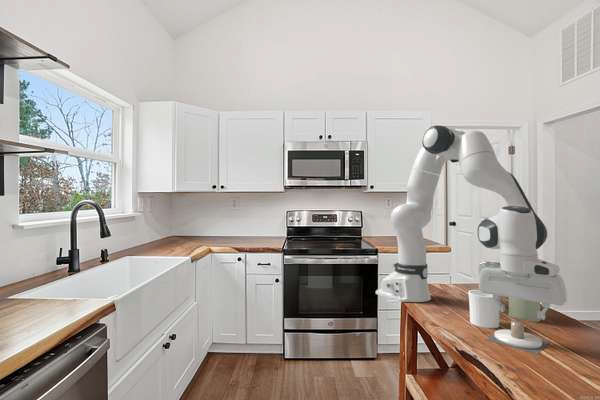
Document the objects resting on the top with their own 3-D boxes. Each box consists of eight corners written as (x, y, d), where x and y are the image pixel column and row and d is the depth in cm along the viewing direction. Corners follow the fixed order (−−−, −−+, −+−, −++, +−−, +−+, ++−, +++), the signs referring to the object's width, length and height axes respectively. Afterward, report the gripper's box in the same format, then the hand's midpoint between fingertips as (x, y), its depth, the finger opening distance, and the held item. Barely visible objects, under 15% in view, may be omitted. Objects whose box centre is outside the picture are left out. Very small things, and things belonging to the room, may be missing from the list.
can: (546, 323, 107) (546, 285, 107) (515, 321, 109) (514, 284, 109) (532, 313, 116) (532, 279, 116) (503, 312, 118) (503, 278, 118)
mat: (486, 342, 92) (486, 339, 92) (500, 331, 100) (500, 328, 100) (537, 357, 83) (537, 354, 83) (549, 343, 91) (549, 340, 91)
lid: (488, 339, 92) (488, 321, 92) (501, 329, 99) (501, 313, 99) (536, 352, 84) (535, 333, 84) (546, 340, 91) (546, 322, 91)
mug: (507, 329, 101) (507, 296, 101) (483, 332, 99) (482, 298, 99) (481, 318, 112) (480, 287, 112) (458, 320, 110) (457, 289, 110)
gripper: (474, 262, 97) (476, 309, 97) (562, 270, 82) (564, 326, 82) (482, 259, 101) (483, 304, 101) (566, 267, 86) (569, 320, 86)
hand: (520, 314), depth 91 cm, fingers open, 8 cm apart
